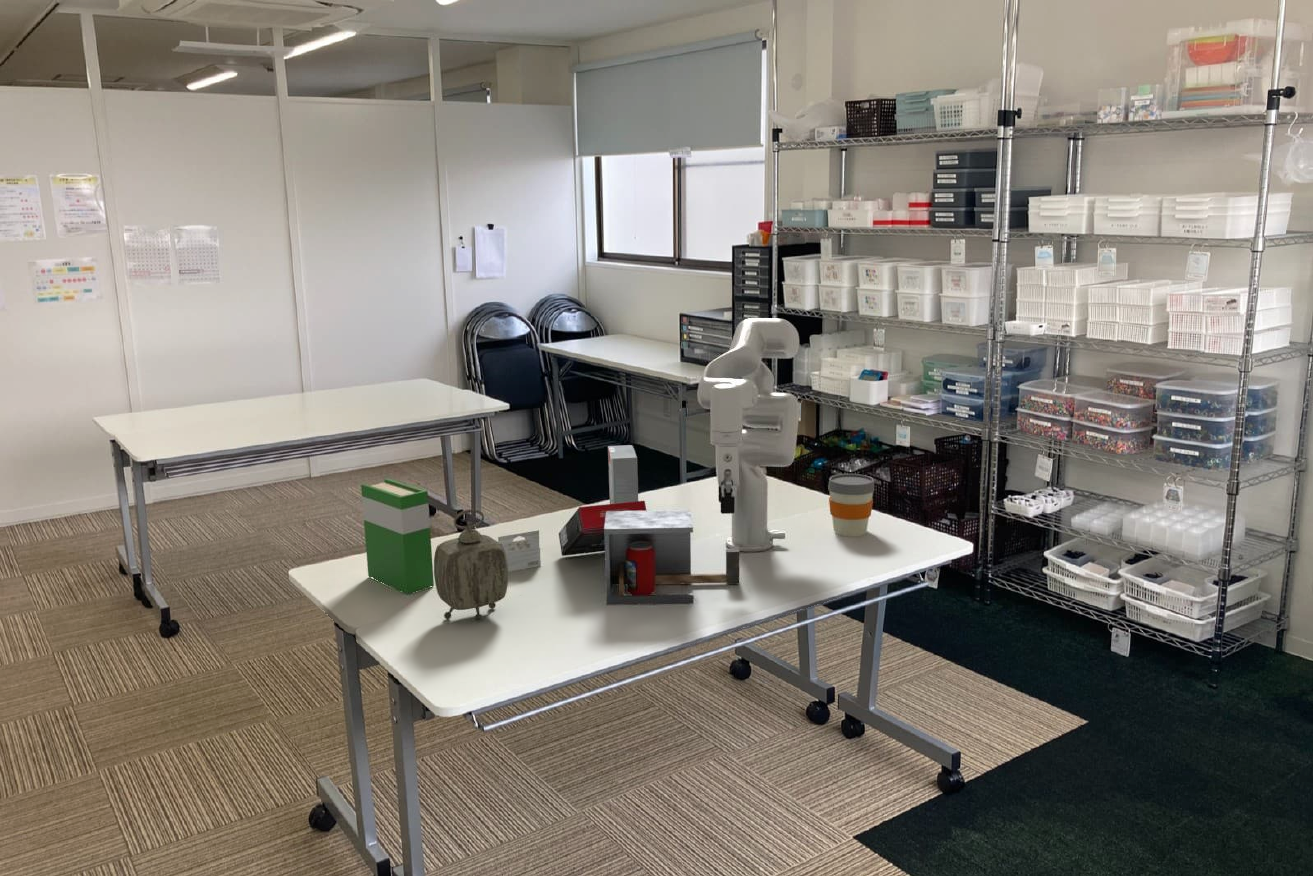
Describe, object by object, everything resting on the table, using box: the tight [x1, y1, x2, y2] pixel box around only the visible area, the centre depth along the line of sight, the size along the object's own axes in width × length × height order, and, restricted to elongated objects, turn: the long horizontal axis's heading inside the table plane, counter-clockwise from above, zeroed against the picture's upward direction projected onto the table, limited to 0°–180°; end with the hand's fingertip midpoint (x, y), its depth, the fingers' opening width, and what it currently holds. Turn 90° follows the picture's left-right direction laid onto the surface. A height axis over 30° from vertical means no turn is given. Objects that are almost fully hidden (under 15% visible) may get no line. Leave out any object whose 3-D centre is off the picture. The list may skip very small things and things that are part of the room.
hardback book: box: [360, 478, 435, 596], centre depth 252 cm, size 18×7×24 cm, turn 46°
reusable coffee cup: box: [827, 473, 875, 537], centre depth 286 cm, size 13×13×15 cm
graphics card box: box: [558, 500, 647, 557], centre depth 262 cm, size 17×7×27 cm
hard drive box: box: [607, 444, 639, 504], centre depth 302 cm, size 16×8×20 cm, turn 6°
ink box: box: [497, 529, 542, 573], centre depth 261 cm, size 2×11×10 cm, turn 117°
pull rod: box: [618, 548, 740, 595], centre depth 244 cm, size 28×11×8 cm, turn 91°
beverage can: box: [626, 541, 656, 595], centre depth 243 cm, size 7×7×12 cm
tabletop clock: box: [433, 508, 509, 622], centre depth 228 cm, size 14×9×25 cm, turn 123°
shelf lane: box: [604, 509, 695, 606], centre depth 242 cm, size 20×14×18 cm
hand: (726, 507), depth 246 cm, fingers open, 9 cm apart
